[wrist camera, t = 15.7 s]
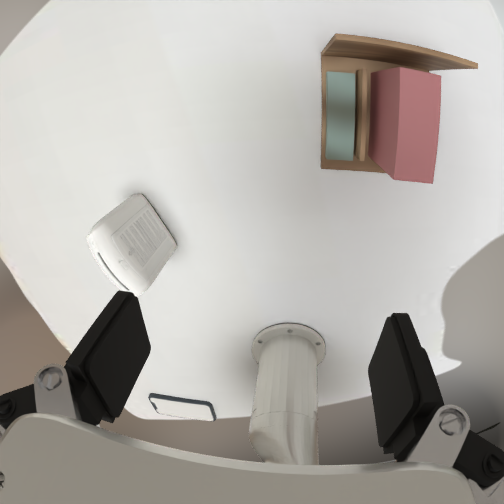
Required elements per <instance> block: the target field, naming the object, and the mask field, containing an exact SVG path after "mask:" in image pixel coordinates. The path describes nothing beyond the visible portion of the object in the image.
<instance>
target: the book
mask: <svg viewBox="0 0 504 504" xmlns="http://www.w3.org/2000/svg"><path fill="white" fill-rule="evenodd" d="M440 103H441V76H440V75H436V74H431V73H427V72H423V71H418V70H413V69H408V68H403V67H397V68H391V69H386V70H381V71H376V72H371V93H370V128H369V147H368V156H369V157H370V158H371V159H372V160H373V161H374V162H375V163H377V164H378V165H379V166H380V167H381V168H382V169H383V170H384V171H385V172H386V173H387V174H388V175H389V176H390V177H391V178H392V179H393V180H402V181H412V182H422V183H430V184H433V177H434V170H435V163H436V154H437V145H438V134H439V121H440Z"/></svg>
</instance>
